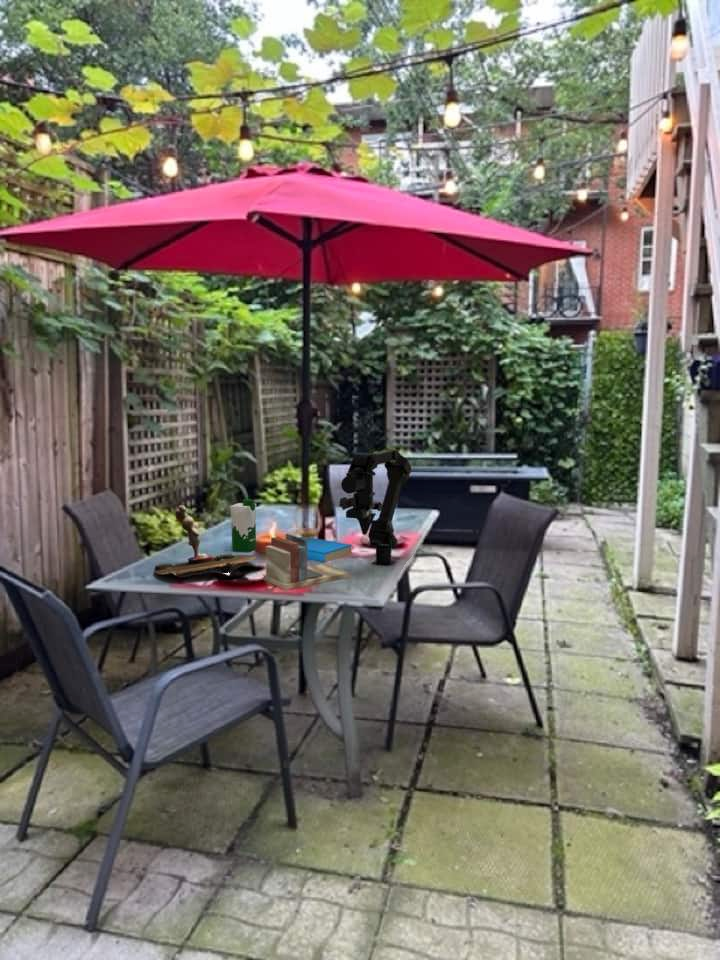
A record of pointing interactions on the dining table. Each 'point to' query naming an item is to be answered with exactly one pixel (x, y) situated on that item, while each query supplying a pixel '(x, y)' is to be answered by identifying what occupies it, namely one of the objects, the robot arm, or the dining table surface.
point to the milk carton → (243, 526)
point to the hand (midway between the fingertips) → (364, 534)
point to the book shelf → (318, 568)
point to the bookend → (303, 543)
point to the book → (326, 549)
